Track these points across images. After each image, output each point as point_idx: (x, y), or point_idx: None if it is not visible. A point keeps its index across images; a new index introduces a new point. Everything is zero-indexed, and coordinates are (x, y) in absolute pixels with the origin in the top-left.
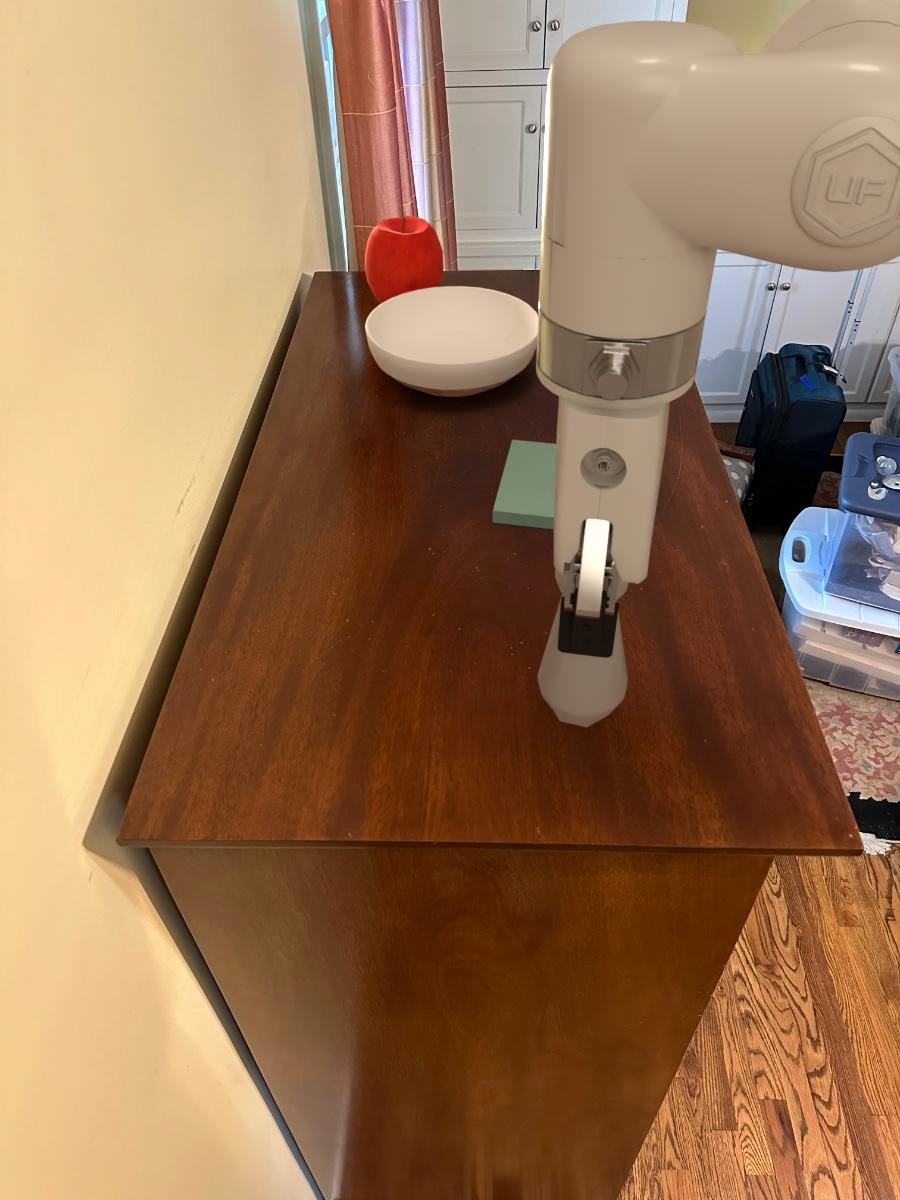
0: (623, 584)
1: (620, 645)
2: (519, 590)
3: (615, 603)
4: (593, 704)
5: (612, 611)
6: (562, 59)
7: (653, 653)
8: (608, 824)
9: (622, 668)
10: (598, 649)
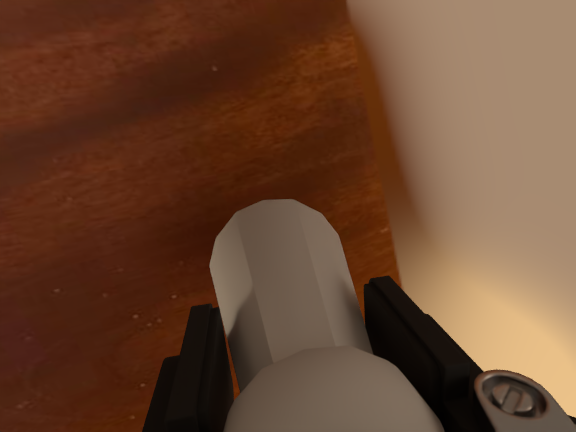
0: (395, 388)
1: (299, 252)
2: (38, 346)
3: (451, 376)
4: (340, 242)
5: (547, 395)
6: None
7: (81, 155)
8: (362, 165)
9: (295, 224)
10: (428, 316)
